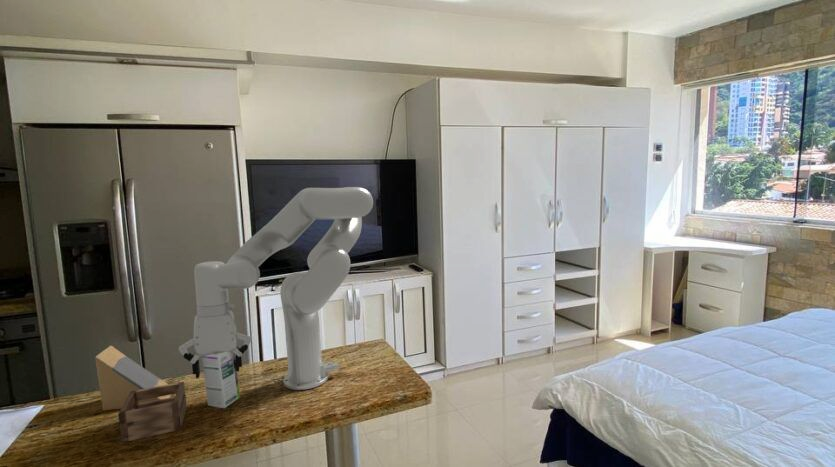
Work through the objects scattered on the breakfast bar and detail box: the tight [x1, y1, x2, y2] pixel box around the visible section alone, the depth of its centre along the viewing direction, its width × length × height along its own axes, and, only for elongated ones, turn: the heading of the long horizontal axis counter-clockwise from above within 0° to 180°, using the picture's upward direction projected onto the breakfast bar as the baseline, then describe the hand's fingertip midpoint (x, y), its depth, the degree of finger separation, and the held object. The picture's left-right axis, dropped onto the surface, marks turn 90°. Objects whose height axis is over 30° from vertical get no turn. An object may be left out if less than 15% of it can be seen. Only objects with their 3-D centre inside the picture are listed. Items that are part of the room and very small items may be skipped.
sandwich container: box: [94, 345, 172, 411], centre depth 120 cm, size 9×15×15 cm, turn 102°
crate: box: [118, 381, 188, 443], centre depth 108 cm, size 12×12×7 cm
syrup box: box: [201, 351, 241, 409], centre depth 117 cm, size 6×6×14 cm
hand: (218, 372), depth 116 cm, fingers open, 9 cm apart
